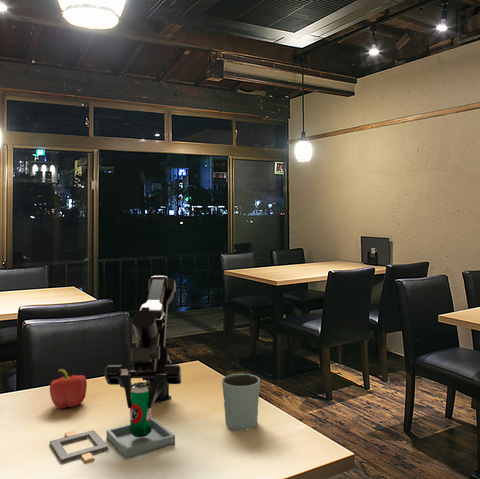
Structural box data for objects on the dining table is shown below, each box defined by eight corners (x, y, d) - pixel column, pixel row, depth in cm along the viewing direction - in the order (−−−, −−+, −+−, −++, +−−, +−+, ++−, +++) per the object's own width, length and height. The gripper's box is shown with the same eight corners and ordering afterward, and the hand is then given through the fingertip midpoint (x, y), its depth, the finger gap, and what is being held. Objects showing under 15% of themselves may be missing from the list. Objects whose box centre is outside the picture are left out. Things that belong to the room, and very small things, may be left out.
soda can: (151, 437, 108) (151, 388, 107) (130, 439, 107) (129, 389, 106) (151, 427, 113) (150, 380, 112) (130, 429, 112) (129, 382, 111)
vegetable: (42, 405, 132) (41, 372, 132) (74, 396, 140) (74, 364, 140) (60, 415, 125) (60, 380, 125) (93, 405, 133) (93, 371, 132)
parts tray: (152, 426, 118) (152, 418, 118) (174, 444, 108) (174, 435, 108) (106, 439, 111) (106, 430, 111) (125, 459, 101) (125, 450, 101)
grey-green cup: (265, 420, 122) (265, 376, 122) (250, 435, 113) (250, 388, 113) (232, 413, 126) (232, 371, 126) (215, 427, 117) (215, 382, 117)
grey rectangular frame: (90, 428, 116) (90, 425, 116) (112, 454, 103) (112, 451, 103) (46, 439, 110) (46, 436, 110) (65, 468, 97) (64, 465, 97)
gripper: (105, 333, 112) (93, 393, 102) (180, 333, 113) (175, 392, 103) (113, 355, 121) (102, 413, 110) (183, 355, 121) (179, 412, 111)
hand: (139, 407), depth 108 cm, fingers closed on soda can, 5 cm apart
